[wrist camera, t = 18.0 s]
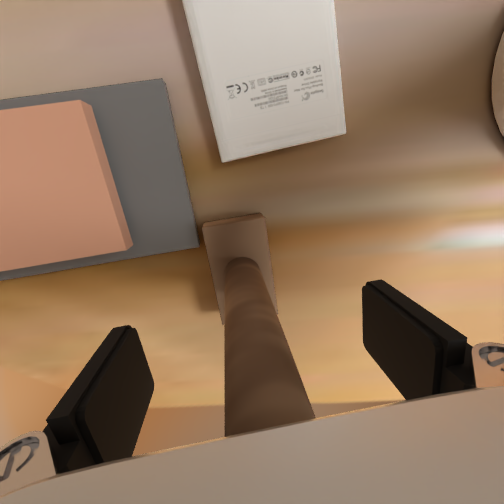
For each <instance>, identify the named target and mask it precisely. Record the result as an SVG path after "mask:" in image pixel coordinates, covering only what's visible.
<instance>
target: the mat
mask: <svg viewBox="0 0 504 504" xmlns="http://www.w3.org/2000/svg"><path fill="white" fill-rule="evenodd" d="M74 100H81V101H83V102H85V103H87V104H89V105H91V106H92V109H93V113H94V116H95V119H96V123H97V126H98V129H99V133H100V136H101V139H102V143H103V146H104V149H105V153H106V156H107V159H108V163H109V166H110V169H111V172H112V176H113V179H114V182H115V186H116V189H117V192H118V196H119V199H120V202H121V206H122V209H123V212H124V216H125V219H126V222H127V226H128V229H129V232H130V236H131V239H132V242H133V245H132V246H131V247H130V248H129V249H127V250H124V251H119V252H113V253H107V254H101V255H95V256H89V257H83V258H77V259H72V260H66V261H60V262H54V263H48V264H42V265H36V266H30V267H25V268H19V269H13V270H7V271H1V272H0V281H2V280H8V279H14V278H20V277H25V276H31V275H37V274H43V273H49V272H55V271H61V270H67V269H73V268H79V267H84V266H90V265H96V264H102V263H108V262H114V261H120V260H126V259H132V258H138V257H143V256H149V255H155V254H161V253H167V252H173V251H179V250H185V249H191V248H197V247H200V240H199V235H198V231H197V226H196V222H195V217H194V212H193V208H192V203H191V199H190V194H189V189H188V185H187V180H186V175H185V171H184V166H183V162H182V157H181V152H180V148H179V143H178V139H177V134H176V129H175V125H174V120H173V116H172V111H171V106H170V102H169V97H168V93H167V88H166V83H165V82H164V80H163V79H162V78H161V79H154V80H146V81H139V82H131V83H124V84H116V85H109V86H101V87H94V88H86V89H79V90H71V91H63V92H56V93H48V94H41V95H33V96H26V97H18V98H11V99H3V100H0V110H5V109H13V108H20V107H28V106H36V105H43V104H51V103H59V102H66V101H74Z"/></svg>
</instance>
